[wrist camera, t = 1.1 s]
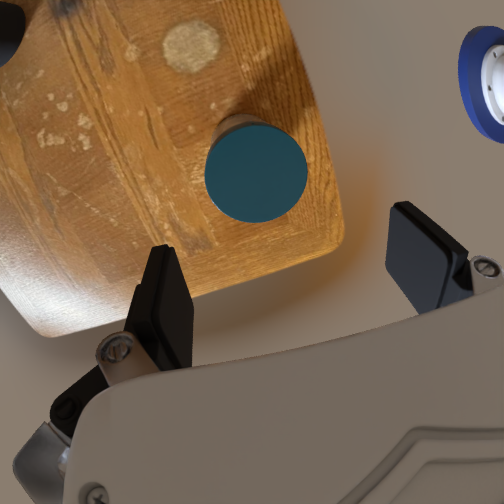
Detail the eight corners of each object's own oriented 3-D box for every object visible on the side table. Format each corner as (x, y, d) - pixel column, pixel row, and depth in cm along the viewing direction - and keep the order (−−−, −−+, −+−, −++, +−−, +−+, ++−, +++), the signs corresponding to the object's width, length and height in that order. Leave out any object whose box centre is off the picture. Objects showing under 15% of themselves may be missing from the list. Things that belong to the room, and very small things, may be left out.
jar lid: (200, 125, 19) (198, 129, 17) (299, 117, 20) (307, 121, 18) (211, 215, 23) (211, 228, 21) (299, 206, 23) (307, 218, 21)
